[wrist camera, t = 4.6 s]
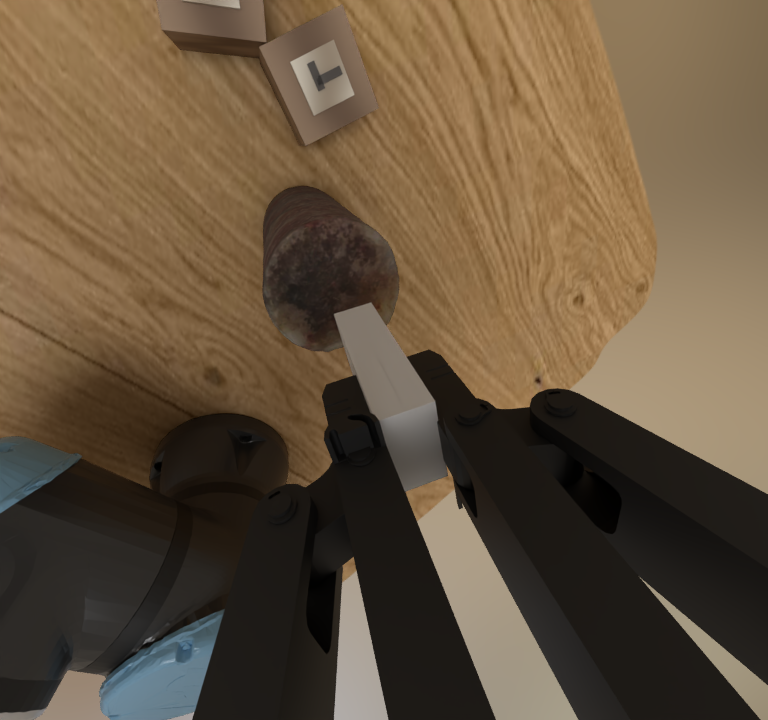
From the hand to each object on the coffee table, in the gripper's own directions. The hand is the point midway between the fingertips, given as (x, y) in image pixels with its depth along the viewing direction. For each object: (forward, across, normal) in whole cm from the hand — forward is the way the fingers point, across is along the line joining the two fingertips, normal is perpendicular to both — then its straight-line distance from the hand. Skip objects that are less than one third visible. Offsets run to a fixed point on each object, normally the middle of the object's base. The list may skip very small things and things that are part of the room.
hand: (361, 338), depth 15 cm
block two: (+25, +4, +10) cm, 27 cm away
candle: (+25, 0, 0) cm, 25 cm away
